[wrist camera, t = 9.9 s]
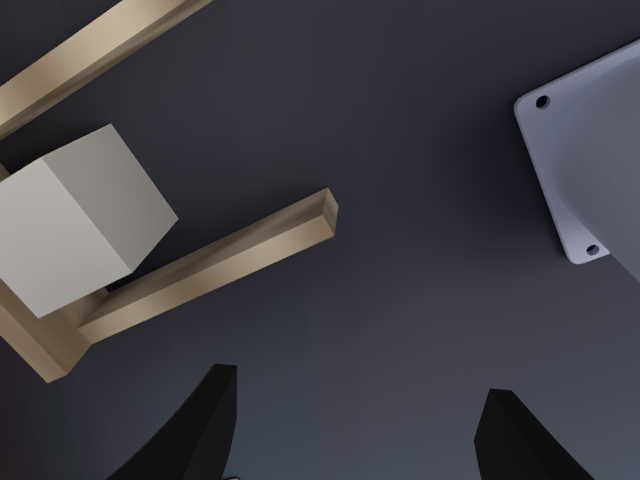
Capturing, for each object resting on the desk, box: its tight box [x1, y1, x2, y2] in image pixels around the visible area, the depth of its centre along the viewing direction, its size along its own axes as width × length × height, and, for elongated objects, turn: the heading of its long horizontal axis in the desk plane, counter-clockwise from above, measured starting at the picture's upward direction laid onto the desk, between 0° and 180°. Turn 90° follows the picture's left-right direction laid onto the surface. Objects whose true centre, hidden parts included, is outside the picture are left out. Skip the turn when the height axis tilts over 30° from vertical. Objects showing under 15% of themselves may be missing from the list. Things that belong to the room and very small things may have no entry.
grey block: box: [0, 124, 178, 318], centre depth 20 cm, size 5×5×5 cm
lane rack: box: [0, 0, 338, 383], centre depth 17 cm, size 14×20×5 cm
